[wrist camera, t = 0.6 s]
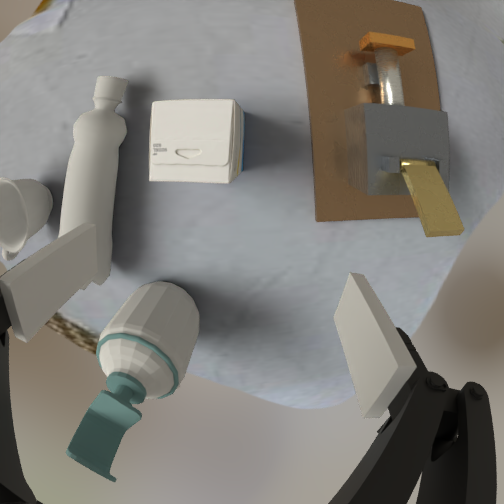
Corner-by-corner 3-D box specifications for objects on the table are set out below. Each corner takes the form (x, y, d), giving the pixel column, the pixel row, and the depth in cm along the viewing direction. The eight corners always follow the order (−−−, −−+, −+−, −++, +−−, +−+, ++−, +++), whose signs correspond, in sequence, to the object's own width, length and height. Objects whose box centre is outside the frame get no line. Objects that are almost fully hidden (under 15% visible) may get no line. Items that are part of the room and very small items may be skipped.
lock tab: (396, 164, 27) (399, 156, 26) (429, 165, 26) (432, 158, 25) (424, 237, 22) (430, 230, 21) (460, 235, 22) (465, 228, 21)
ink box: (246, 110, 34) (237, 97, 23) (243, 172, 37) (233, 185, 26) (182, 110, 34) (149, 100, 24) (180, 170, 38) (147, 183, 27)
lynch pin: (358, 41, 27) (368, 31, 23) (399, 47, 26) (413, 39, 22) (369, 139, 31) (382, 140, 28) (410, 141, 31) (426, 142, 27)
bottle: (120, 286, 41) (156, 84, 31) (69, 298, 34) (96, 70, 24) (96, 260, 46) (125, 86, 35) (51, 269, 38) (74, 76, 28)
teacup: (18, 229, 42) (-16, 247, 33) (29, 158, 37) (-10, 167, 28) (57, 256, 44) (24, 280, 34) (72, 181, 38) (32, 195, 29)
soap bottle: (219, 306, 45) (170, 495, 16) (179, 347, 49) (124, 502, 20) (156, 258, 43) (36, 419, 14) (123, 306, 47) (30, 446, 18)
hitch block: (292, -7, 27) (299, -48, 16) (417, 9, 25) (452, -15, 15) (315, 219, 39) (332, 248, 29) (436, 214, 38) (477, 238, 27)
